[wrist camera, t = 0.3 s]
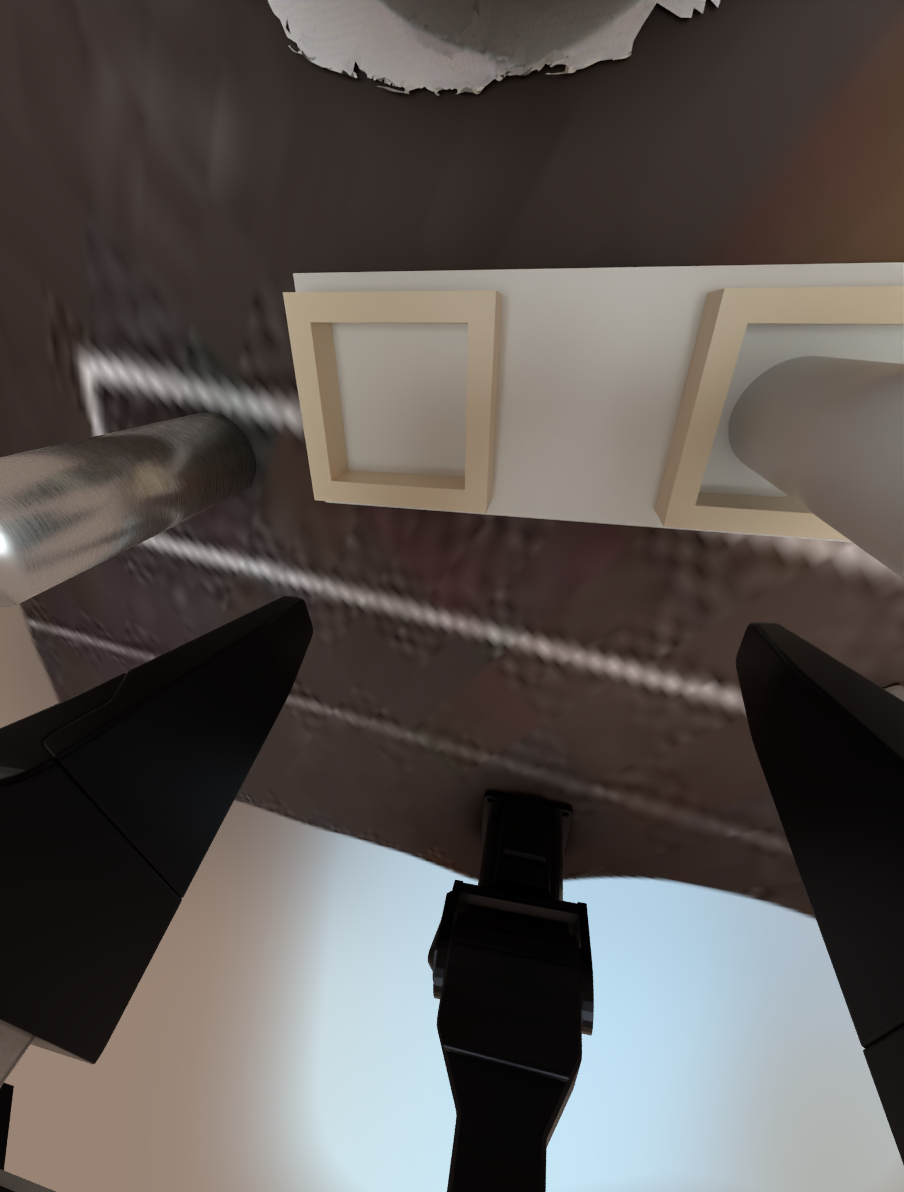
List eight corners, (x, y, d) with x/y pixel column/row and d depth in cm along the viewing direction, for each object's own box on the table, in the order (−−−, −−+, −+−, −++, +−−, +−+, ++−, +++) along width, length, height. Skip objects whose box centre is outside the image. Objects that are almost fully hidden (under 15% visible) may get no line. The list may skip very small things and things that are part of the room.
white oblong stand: (858, 538, 20) (1217, 786, 9) (330, 498, 25) (142, 634, 14) (994, 262, 15) (2162, 75, 4) (300, 274, 20) (-39, 200, 8)
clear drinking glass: (263, 496, 25) (52, 613, 15) (194, 491, 26) (-53, 599, 16) (245, 413, 23) (-18, 481, 13) (171, 410, 24) (-137, 472, 13)
